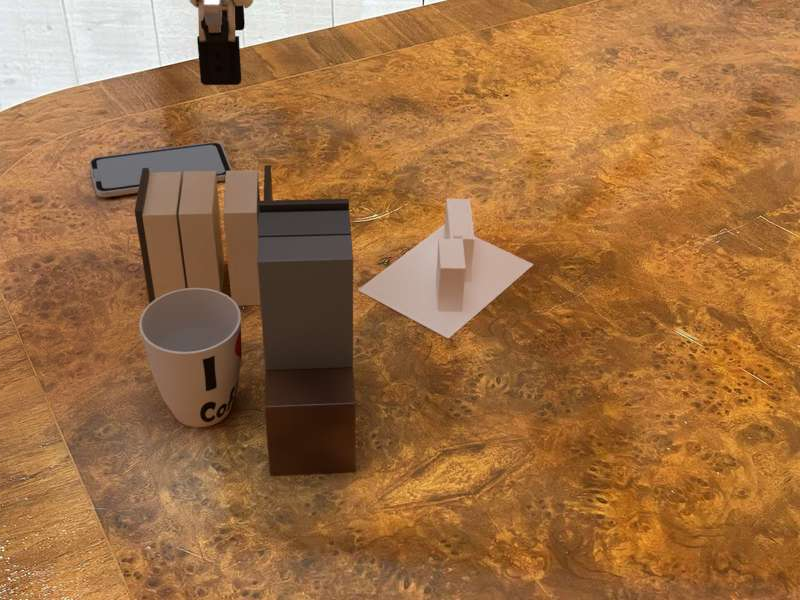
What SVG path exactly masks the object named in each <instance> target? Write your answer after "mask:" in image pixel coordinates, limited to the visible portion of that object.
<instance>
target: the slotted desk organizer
mask: <svg viewBox="0 0 800 600" xmlns="http://www.w3.org/2000/svg"><path fill="white" fill-rule="evenodd" d="M263 169H264V170H263V201H266V200H274V197H273V179H272V165H270V164H266V165H264V167H263ZM135 200H136V201H135V206H134V216H135V223H136V229H137V235H138V241H139V248H140V254H141V260H142V266H143V272H144V278H145V279H144V280H145V285H146V291H147V292H146V293H147V297H148V305H149V304H150V303H151V302H153V301H154V300H155V299H157V298H159V297H160V296H162V295H164V294H167V293H169V292H172V291H176V290H180V289H186V288H207V289H212V290H216V291H219V292H221V293H224V278H225V277H224V276H225V265H226V264H225V263H226V262H225V252H224V251H225V250H224V241H223V229H222V222H221V221H222V219H221V210H220V209H221V208H220V201H219V200H220V199H219V190H218V182H217V178H216V171H186V172H184V175H183V179H182V172H150V173H149V168H142V173H141V179H140V184H139V189H138V193H137V195H136V199H135Z"/></svg>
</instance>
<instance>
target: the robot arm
mask: <svg viewBox="0 0 800 600" xmlns="http://www.w3.org/2000/svg"><path fill="white" fill-rule="evenodd" d="M189 2H190V4H191V5H192V6H193V7H194V8H196V9H197V12H198V13H197V17H198V35H197V36H196V37H197V38H196V41H197V51H198V53H197V54H198V63H199V64H198V65H199V78H200V83H201V84H202V85H203V86H238V85H240V84H241V82H242V65H241V49H240V48H241V47H240V36H239V35H236V31H243V30H244V29H245V25H246V21H245V20H246V19H245V9H248V8H249V7H250V6H252V4H253V3H254V0H189Z"/></svg>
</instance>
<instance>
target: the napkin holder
mask: <svg viewBox="0 0 800 600" xmlns="http://www.w3.org/2000/svg"><path fill="white" fill-rule="evenodd" d="M445 203H446V204H445V218H444V224H443V225H442V226H439V228H437V229H436V230H435V231H433V232H432V233H430V234H429V235H428V236H427V237H426V238H424V239H423V240H422V241H420V242H419V243H417V244H416V245H414V246H413V247H412V248H411V249H410V250H409V251H407V252H405V253H404V254H403V255H402V256H400V257H399V258H398V259H397V260H395V261H394V262H392V263H391V264H390V265H388V266H387V267H386V268H384V269H383V270H382V271H380V272H379V273H378V274H376V275H375V276H374V277H372V278H371V279H370V280H369V281H367V282H366V283H365V284H363V285H362V286H360V287H358V289H357V291H358V292H360V293H361V294H364V295H365V296H367V297H370V298H371V299H373V300H375V301H377V302H379V303H380V304H383V305H385V306H386V307H388V308H390V309H392V310H394V311H396V312H398V313H399V314H401V315H403V316H406V317H407V318H408V319H411V320H413V321H415V322H416V323H418V324H420V325H421V326H423V327H426V328H427V329H429V330H431V331H432V332H435V333H437V334H439V335H440V336H442V337H444V338H446V339H448V340H450V338H451V337H452V336H453V335H455V334H456V333H457V332H458V331H459V330H460V329H462V328H463V327H464V326H465V325H466V324H467V323H469V321H471V320H472V319H473V318H474V317H476V316H477V315H478V314H479V313H480V312H481V311H482V310H483V309H485V308H486V307H487V306H488V305H489V304H491V303H492V301H494V300H495V299H496V298H497V297H498V296H500V295H501V294H502V293H503V292H504V291H506V289H508V288H509V287H510V286H511V285H512V284H513V283H515V282H516V281H517V280H518V279H519V278H520V277H521V276H523V275H525V273H526V272H527V271H529V269H531V268H532V267H533V266H534V265H535V264H534V263H532V262H530V261H528V260H526V259H523V258H521V257H519V256H517V255H515V254H513V253H511V252H509V251H507V250H505V249H502V248H500V247H498V246H496V245H494V244H492V243H490V242H488V241H486V240H483V239H481V238H479V237H477V236H475V233H474V223H473V215H472V205H471V199H470V198H446V202H445Z"/></svg>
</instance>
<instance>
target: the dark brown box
mask: <svg viewBox="0 0 800 600" xmlns="http://www.w3.org/2000/svg"><path fill="white" fill-rule="evenodd" d="M264 372H265V373H264V418H265V431H266V445H267V458H268V460H267V461H268V469H269V470H268V471H269V472H268V473H269V475H270V476H287V475H308V474H309V475H311V474H332V473H354V472H356V471H357V470H356V465H357V463H356V462H357V461H356V458H357V457H356V455H357V453H356V452H357V449H356V448H357V447H356V446H357V445H356V444H357V443H356V440H357V439H356V438H357V437H356V436H357V435H356V434H357V432H356V431H357V430H356V429H357V428H356V427H357V426H356V425H357V423H356V422H357V421H356V420H357V419H356V417H357V414H356V413H357V411H356V410H357V406H356V405H357V403H356V402H357V400H356V388H355V374H354V373H355V372H354V366H353V367H344V368H317V369H289V370H265V369H264Z"/></svg>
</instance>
